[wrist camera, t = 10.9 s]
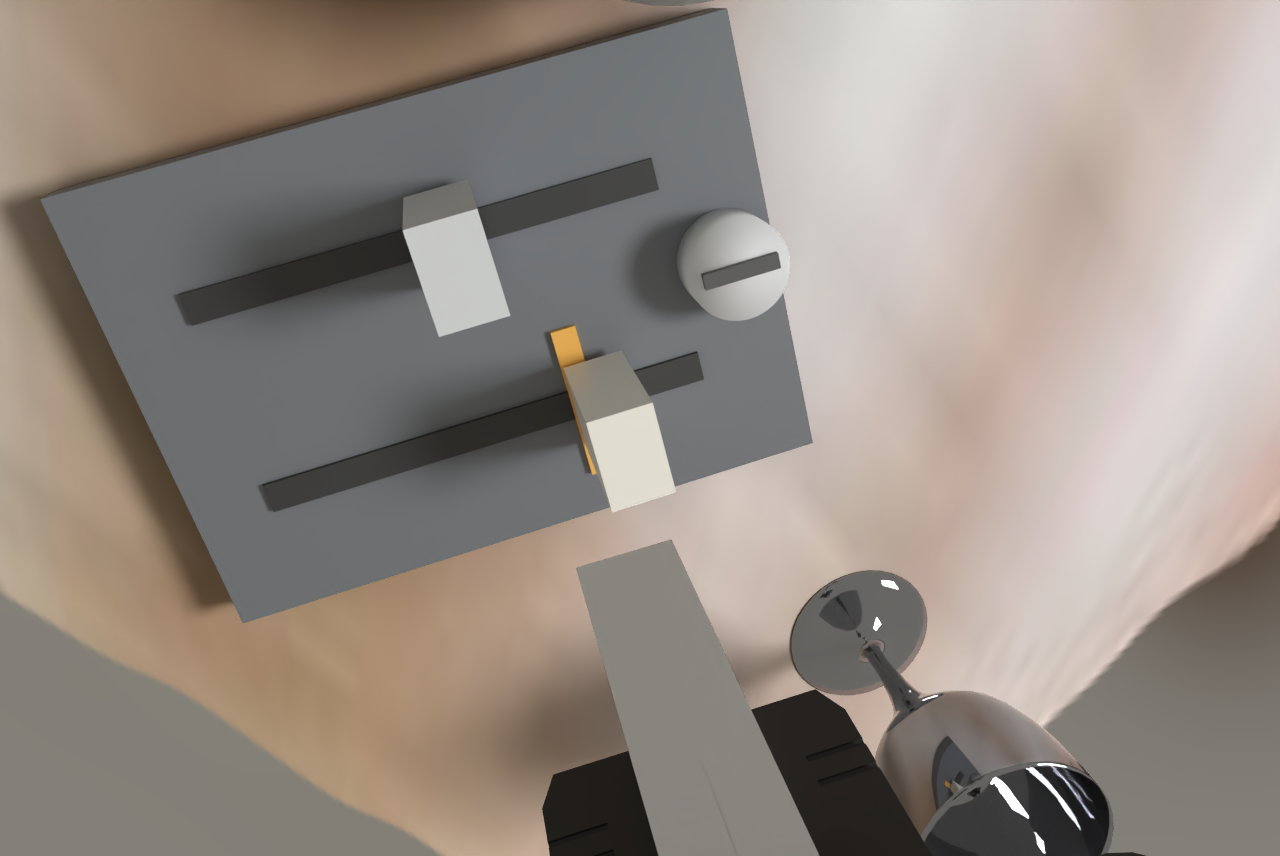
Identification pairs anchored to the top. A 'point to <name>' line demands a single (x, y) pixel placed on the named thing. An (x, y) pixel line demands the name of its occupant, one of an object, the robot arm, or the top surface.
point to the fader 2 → (620, 431)
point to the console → (402, 322)
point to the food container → (668, 2)
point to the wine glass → (949, 734)
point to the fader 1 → (453, 258)
